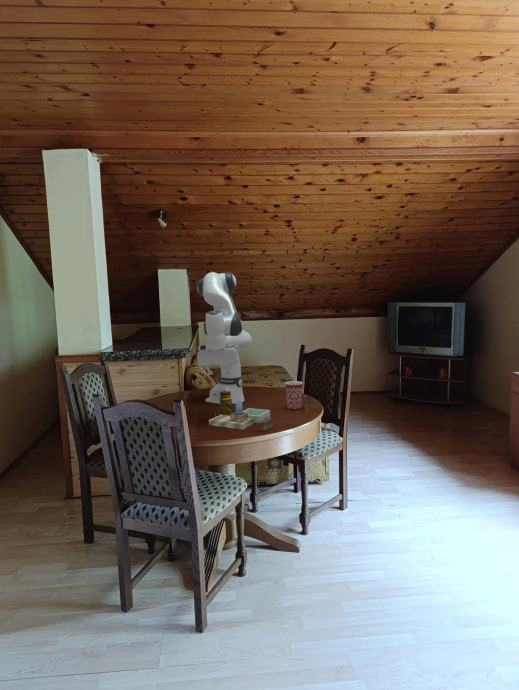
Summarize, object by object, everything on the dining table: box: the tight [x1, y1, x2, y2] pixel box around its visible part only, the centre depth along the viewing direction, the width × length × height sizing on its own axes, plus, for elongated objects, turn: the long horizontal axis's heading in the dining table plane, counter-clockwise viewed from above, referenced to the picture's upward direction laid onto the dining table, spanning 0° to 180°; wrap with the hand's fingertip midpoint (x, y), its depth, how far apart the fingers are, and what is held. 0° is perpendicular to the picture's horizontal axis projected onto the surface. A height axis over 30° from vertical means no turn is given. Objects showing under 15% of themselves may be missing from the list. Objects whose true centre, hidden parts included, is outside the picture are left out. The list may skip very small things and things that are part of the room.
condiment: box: [214, 391, 233, 416], centre depth 228 cm, size 7×8×12 cm
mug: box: [284, 380, 303, 410], centre depth 241 cm, size 13×9×14 cm
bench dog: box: [257, 417, 273, 432], centre depth 205 cm, size 3×8×4 cm, turn 153°
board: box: [208, 411, 254, 430], centre depth 213 cm, size 18×10×6 cm, turn 63°
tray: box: [242, 407, 271, 425], centre depth 220 cm, size 12×12×4 cm
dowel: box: [235, 400, 243, 416], centre depth 210 cm, size 3×3×9 cm
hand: (219, 374), depth 217 cm, fingers open, 8 cm apart
